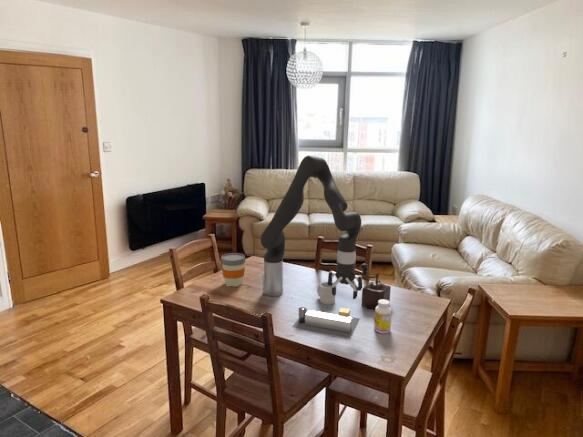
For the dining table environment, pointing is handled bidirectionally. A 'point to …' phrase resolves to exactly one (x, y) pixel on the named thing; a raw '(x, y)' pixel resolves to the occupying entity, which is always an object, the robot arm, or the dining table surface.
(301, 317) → the base
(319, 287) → the cup
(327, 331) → the mat
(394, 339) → the dining table surface
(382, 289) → the coffee grinder
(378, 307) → the supplement bottle
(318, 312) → the bar
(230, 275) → the reusable coffee cup
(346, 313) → the block
